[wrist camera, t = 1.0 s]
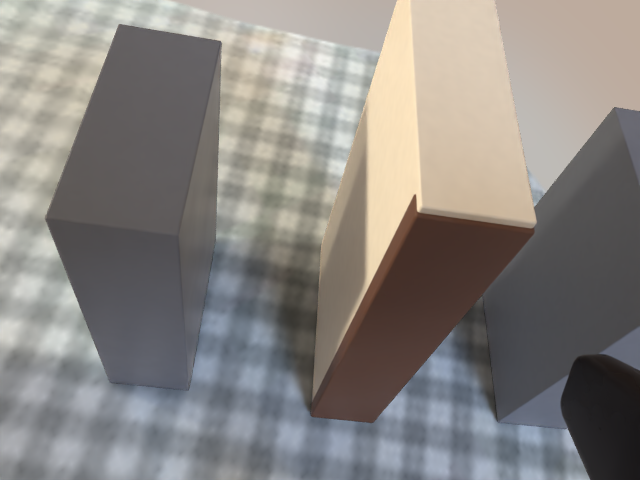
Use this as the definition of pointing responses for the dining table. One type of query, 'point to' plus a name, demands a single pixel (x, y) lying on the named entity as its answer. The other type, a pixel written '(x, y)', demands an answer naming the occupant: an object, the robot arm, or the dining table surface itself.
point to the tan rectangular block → (419, 205)
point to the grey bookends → (200, 234)
